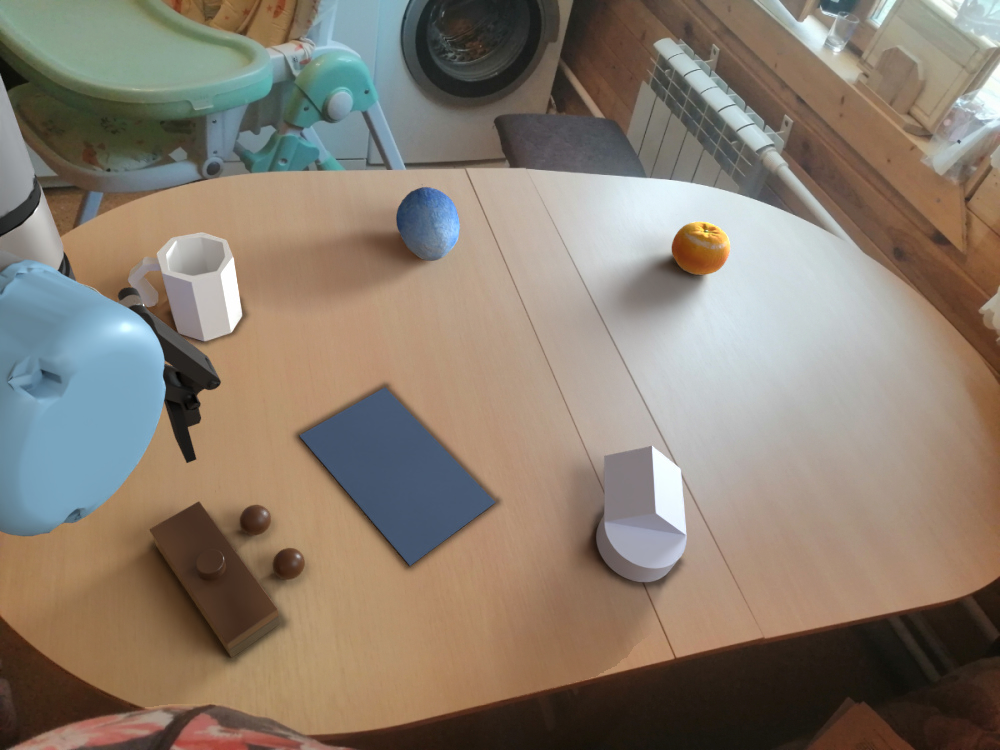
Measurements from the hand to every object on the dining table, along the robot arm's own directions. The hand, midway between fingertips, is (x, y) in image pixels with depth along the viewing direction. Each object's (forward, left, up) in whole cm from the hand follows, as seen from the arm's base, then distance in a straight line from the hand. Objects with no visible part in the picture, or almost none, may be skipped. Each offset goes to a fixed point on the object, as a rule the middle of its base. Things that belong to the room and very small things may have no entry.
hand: (92, 483), depth 54 cm
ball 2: (+11, -7, -17) cm, 22 cm away
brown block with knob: (+5, -4, -19) cm, 20 cm away
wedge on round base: (+43, -26, -19) cm, 54 cm away
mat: (+27, -4, -19) cm, 33 cm away
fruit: (+86, -2, -19) cm, 88 cm away
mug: (+20, +29, -19) cm, 41 cm away
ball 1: (+11, -1, -17) cm, 21 cm away
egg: (+54, +25, -19) cm, 63 cm away
